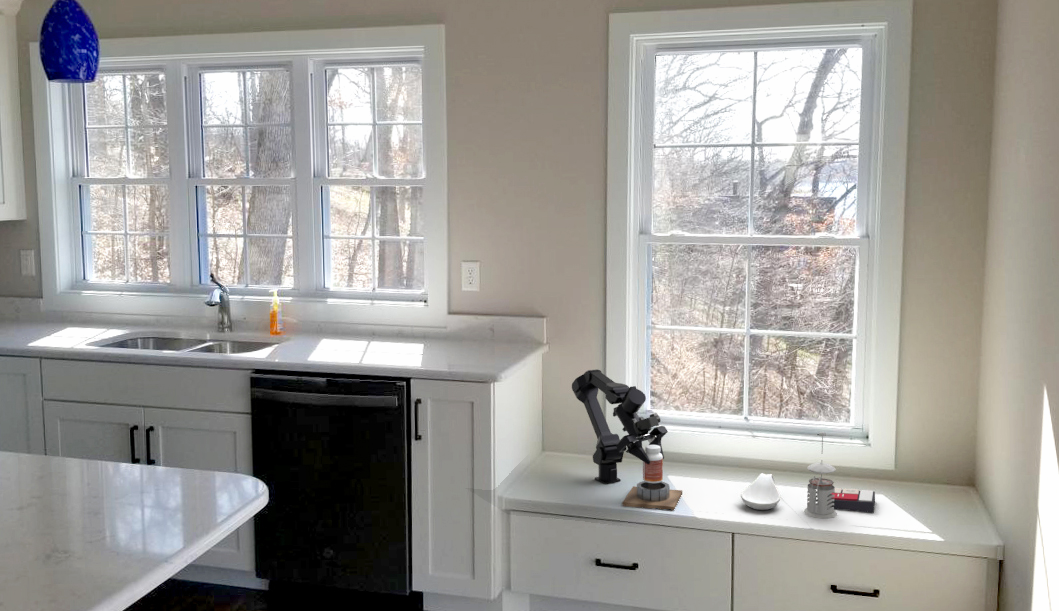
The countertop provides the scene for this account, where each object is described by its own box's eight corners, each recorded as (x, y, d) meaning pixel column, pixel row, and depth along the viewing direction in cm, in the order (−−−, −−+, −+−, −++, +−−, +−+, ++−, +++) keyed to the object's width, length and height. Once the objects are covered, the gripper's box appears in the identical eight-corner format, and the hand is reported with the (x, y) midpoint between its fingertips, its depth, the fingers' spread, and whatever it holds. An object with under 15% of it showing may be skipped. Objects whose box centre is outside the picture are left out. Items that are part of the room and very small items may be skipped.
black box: (824, 486, 308) (874, 488, 302) (824, 499, 308) (875, 502, 302) (821, 496, 297) (873, 499, 292) (821, 510, 298) (873, 513, 292)
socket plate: (622, 505, 302) (622, 502, 301) (633, 489, 317) (633, 486, 317) (674, 510, 297) (674, 506, 297) (682, 494, 312) (682, 490, 312)
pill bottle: (666, 482, 304) (666, 448, 303) (649, 485, 302) (649, 450, 301) (656, 476, 310) (656, 442, 309) (639, 479, 308) (639, 445, 306)
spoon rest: (778, 516, 292) (778, 492, 291) (738, 511, 296) (738, 489, 295) (785, 491, 314) (786, 470, 313) (748, 488, 318) (748, 466, 317)
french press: (841, 510, 295) (843, 430, 291) (830, 522, 285) (833, 439, 282) (809, 505, 300) (811, 425, 297) (797, 516, 290) (799, 434, 287)
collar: (630, 494, 308) (630, 483, 308) (656, 489, 313) (656, 478, 313) (649, 503, 300) (649, 492, 299) (675, 497, 305) (675, 487, 304)
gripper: (623, 411, 300) (650, 453, 293) (663, 401, 312) (690, 441, 305) (604, 430, 307) (630, 472, 300) (645, 420, 319) (670, 460, 312)
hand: (656, 461), depth 304 cm, fingers closed on pill bottle, 6 cm apart
